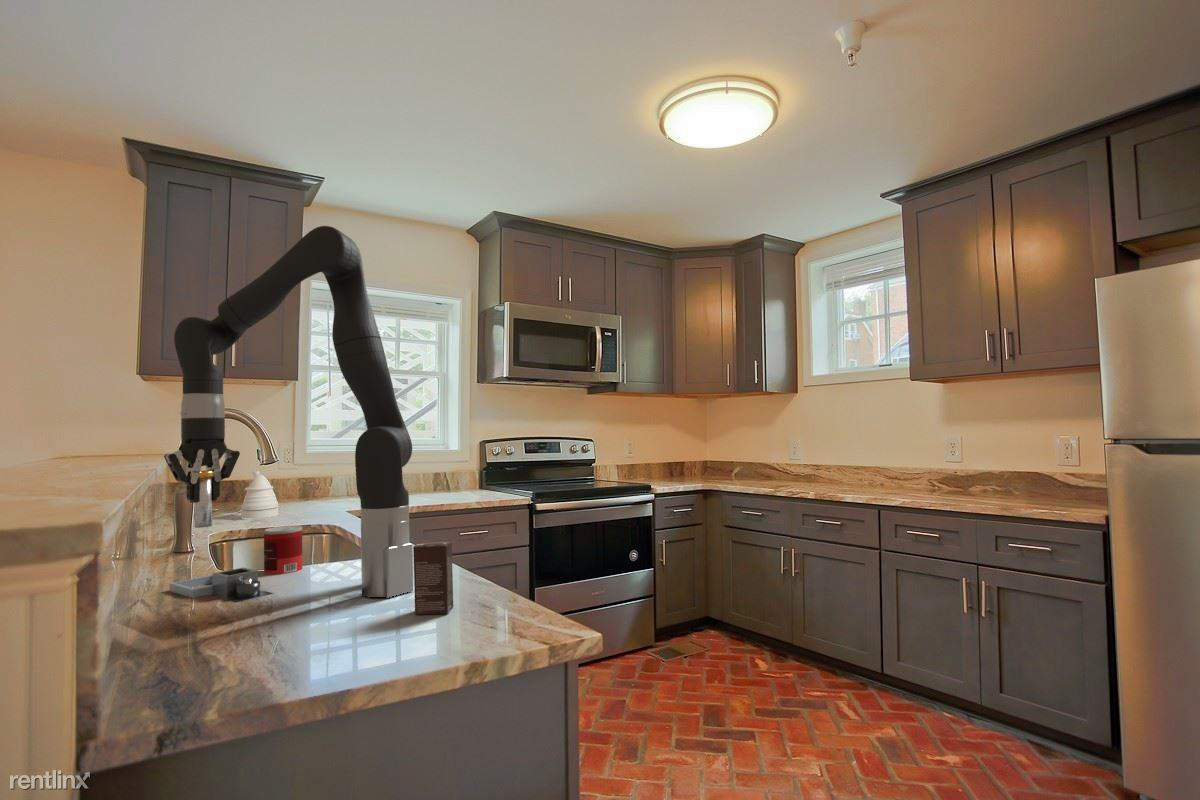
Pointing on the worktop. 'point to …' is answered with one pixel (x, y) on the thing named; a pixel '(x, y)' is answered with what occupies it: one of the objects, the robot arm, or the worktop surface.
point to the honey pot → (259, 499)
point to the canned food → (282, 550)
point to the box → (433, 578)
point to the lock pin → (204, 500)
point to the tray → (186, 585)
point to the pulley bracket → (237, 585)
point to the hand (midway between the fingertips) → (203, 501)
